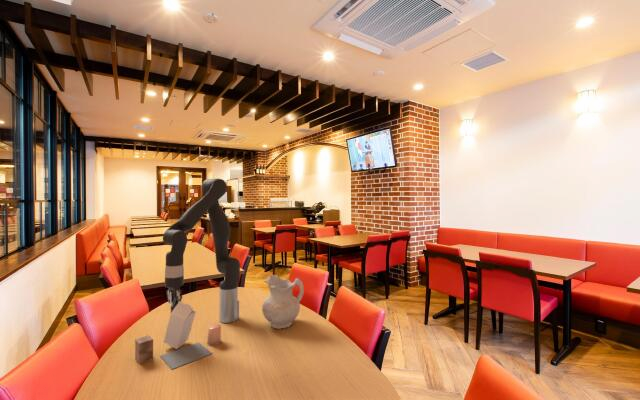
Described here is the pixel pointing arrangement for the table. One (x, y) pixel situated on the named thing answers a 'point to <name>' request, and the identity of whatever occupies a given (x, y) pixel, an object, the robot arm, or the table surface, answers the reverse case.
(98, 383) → the table surface
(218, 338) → the pink rounded glossy part
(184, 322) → the milk carton
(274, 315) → the ceramic pitcher
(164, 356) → the mat
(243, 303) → the table surface
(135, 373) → the table surface
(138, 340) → the wooden block
